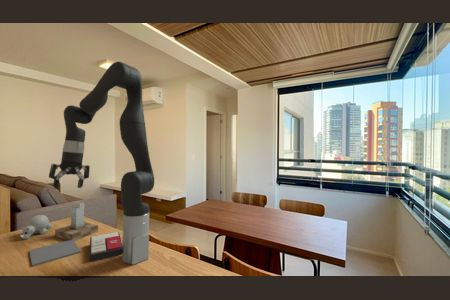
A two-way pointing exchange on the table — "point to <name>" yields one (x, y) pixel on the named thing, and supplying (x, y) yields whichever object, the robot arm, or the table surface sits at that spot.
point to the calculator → (105, 246)
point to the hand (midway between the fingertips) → (68, 188)
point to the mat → (53, 252)
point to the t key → (77, 215)
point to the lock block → (76, 231)
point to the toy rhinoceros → (36, 226)
